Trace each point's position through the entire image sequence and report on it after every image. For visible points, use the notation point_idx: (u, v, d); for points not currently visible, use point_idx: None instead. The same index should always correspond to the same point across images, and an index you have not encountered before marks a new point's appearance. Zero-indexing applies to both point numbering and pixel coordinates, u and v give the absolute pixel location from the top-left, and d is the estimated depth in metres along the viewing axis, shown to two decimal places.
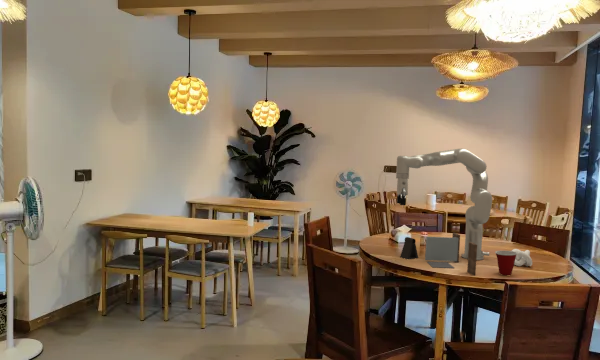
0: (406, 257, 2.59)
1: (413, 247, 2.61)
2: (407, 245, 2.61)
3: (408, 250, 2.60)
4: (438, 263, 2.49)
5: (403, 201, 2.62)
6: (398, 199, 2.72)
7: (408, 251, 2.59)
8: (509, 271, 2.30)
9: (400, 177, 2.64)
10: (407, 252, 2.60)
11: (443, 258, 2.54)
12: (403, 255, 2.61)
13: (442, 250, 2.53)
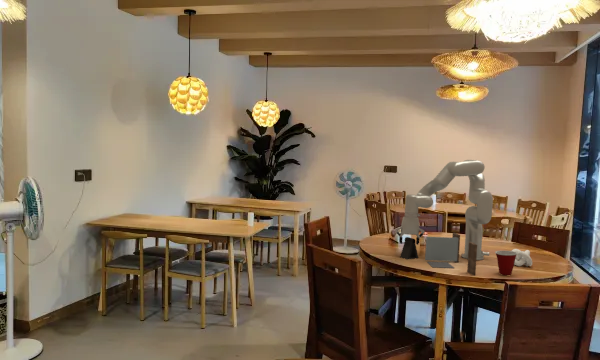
0: (406, 257, 2.59)
1: (413, 247, 2.61)
2: (407, 245, 2.61)
3: (408, 250, 2.60)
4: (438, 263, 2.49)
5: None
6: None
7: (408, 251, 2.59)
8: (509, 271, 2.30)
9: (417, 217, 2.59)
10: (407, 252, 2.60)
11: (443, 258, 2.54)
12: (403, 255, 2.61)
13: (442, 250, 2.53)
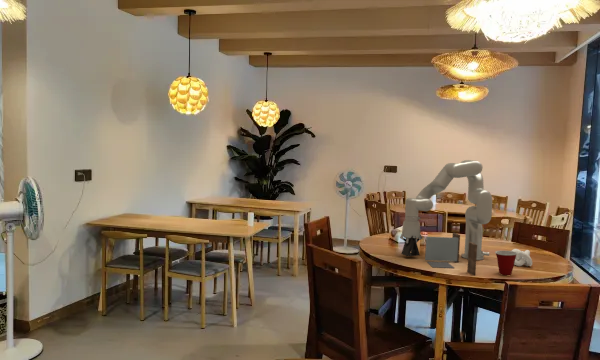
0: (406, 254, 2.59)
1: None
2: (408, 242, 2.62)
3: (408, 247, 2.60)
4: (438, 263, 2.49)
5: None
6: None
7: (408, 248, 2.60)
8: (509, 271, 2.30)
9: (417, 220, 2.60)
10: (407, 249, 2.60)
11: (443, 258, 2.54)
12: (404, 252, 2.62)
13: (442, 250, 2.53)
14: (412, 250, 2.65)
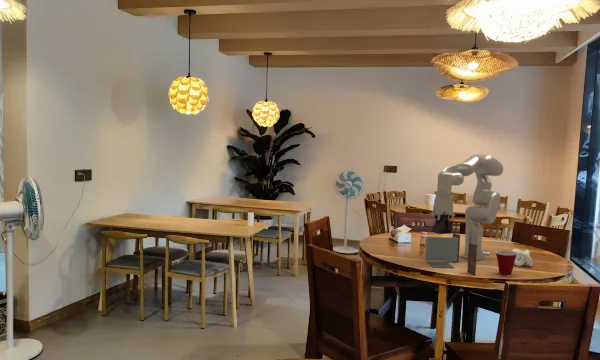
0: (437, 231, 2.43)
1: None
2: None
3: (440, 224, 2.43)
4: (438, 263, 2.49)
5: None
6: None
7: (440, 225, 2.43)
8: (509, 271, 2.30)
9: (450, 196, 2.43)
10: (438, 227, 2.44)
11: (443, 258, 2.54)
12: (434, 230, 2.45)
13: (442, 250, 2.53)
14: (443, 228, 2.48)
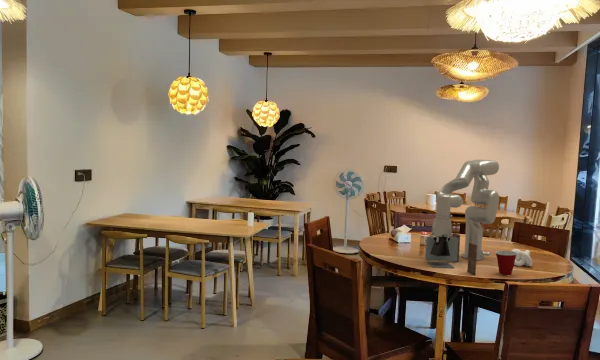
0: (436, 254, 2.44)
1: None
2: None
3: (438, 246, 2.44)
4: (438, 263, 2.49)
5: None
6: None
7: (438, 247, 2.44)
8: (509, 271, 2.30)
9: (449, 218, 2.44)
10: (437, 249, 2.44)
11: (443, 258, 2.54)
12: (433, 252, 2.46)
13: None
14: (442, 250, 2.49)
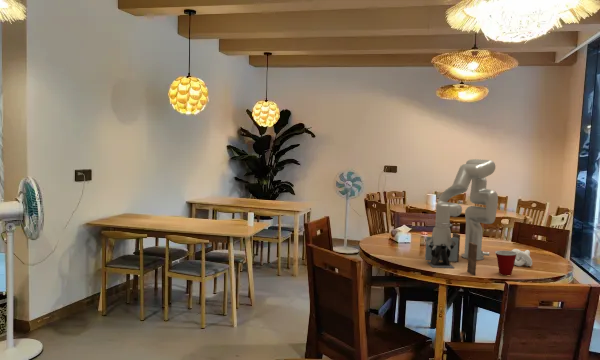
0: (434, 263, 2.45)
1: (444, 253, 2.45)
2: (437, 250, 2.47)
3: (437, 256, 2.45)
4: None
5: None
6: None
7: (437, 257, 2.45)
8: (509, 271, 2.30)
9: (449, 227, 2.44)
10: (435, 258, 2.46)
11: None
12: (432, 261, 2.48)
13: None
14: (443, 259, 2.49)
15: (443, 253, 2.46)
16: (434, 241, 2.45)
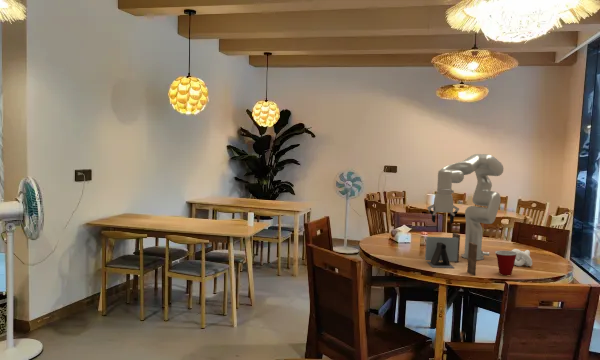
0: (434, 263, 2.45)
1: (444, 253, 2.45)
2: (437, 250, 2.47)
3: (437, 256, 2.45)
4: None
5: None
6: None
7: (437, 257, 2.45)
8: (509, 271, 2.30)
9: (450, 193, 2.43)
10: (435, 258, 2.46)
11: None
12: (432, 261, 2.48)
13: None
14: (443, 259, 2.49)
15: (443, 253, 2.46)
16: (436, 207, 2.44)
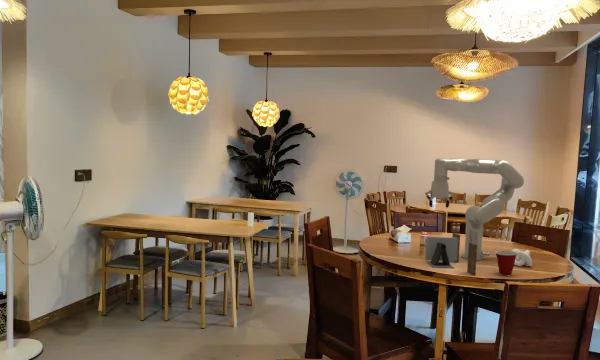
0: (434, 263, 2.45)
1: (444, 253, 2.45)
2: (437, 250, 2.47)
3: (437, 256, 2.45)
4: None
5: None
6: None
7: (437, 257, 2.45)
8: (509, 271, 2.30)
9: (446, 180, 2.65)
10: (435, 258, 2.46)
11: None
12: (432, 261, 2.48)
13: None
14: (443, 259, 2.49)
15: (443, 253, 2.46)
16: (433, 193, 2.65)
